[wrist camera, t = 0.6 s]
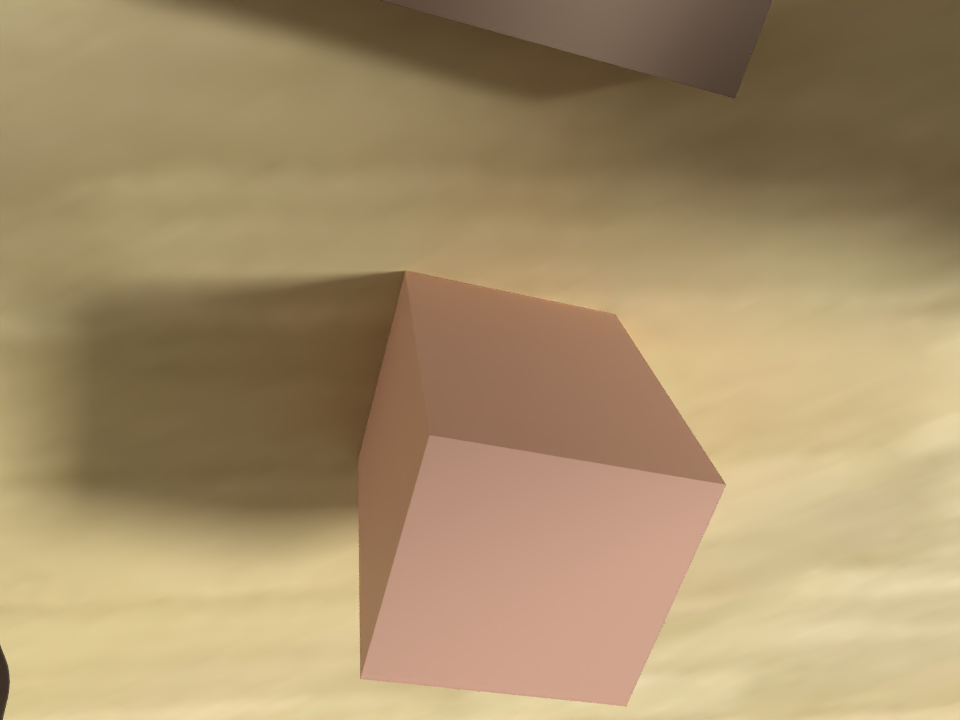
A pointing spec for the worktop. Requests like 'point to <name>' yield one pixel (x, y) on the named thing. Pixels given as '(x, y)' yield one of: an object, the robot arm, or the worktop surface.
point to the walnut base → (628, 32)
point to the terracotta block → (521, 499)
